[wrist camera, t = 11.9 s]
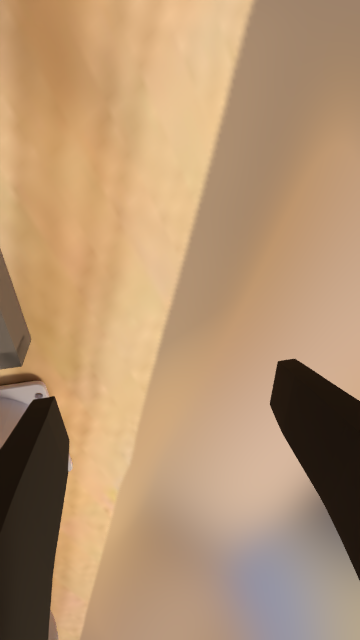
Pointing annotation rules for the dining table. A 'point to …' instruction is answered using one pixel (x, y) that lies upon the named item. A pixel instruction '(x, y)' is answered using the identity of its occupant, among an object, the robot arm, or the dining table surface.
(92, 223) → the dining table surface
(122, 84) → the dining table surface
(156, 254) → the dining table surface
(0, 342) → the grey divided tray
